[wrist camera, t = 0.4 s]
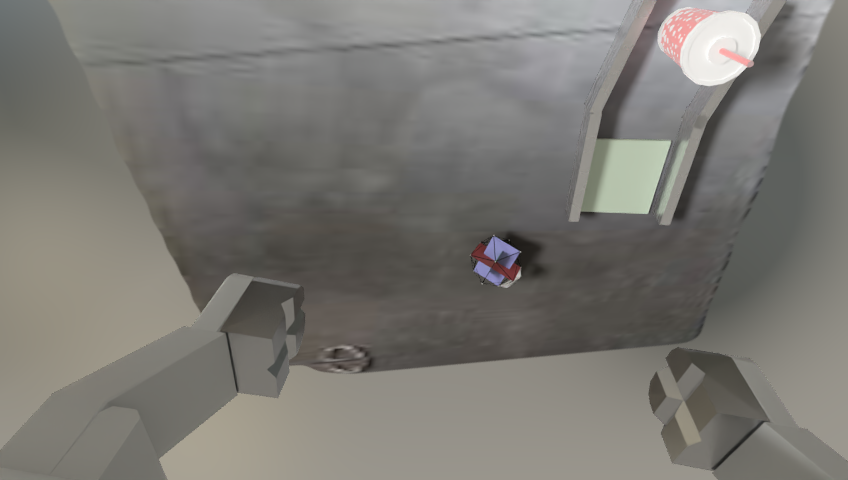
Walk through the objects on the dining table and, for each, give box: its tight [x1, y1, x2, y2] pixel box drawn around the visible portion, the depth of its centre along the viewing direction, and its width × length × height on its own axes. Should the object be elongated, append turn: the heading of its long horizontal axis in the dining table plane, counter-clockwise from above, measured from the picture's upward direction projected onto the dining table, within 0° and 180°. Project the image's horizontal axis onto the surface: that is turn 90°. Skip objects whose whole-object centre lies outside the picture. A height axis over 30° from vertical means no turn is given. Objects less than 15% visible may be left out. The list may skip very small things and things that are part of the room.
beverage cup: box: [658, 7, 761, 86], centre depth 40 cm, size 6×6×14 cm
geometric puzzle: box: [470, 235, 522, 288], centre depth 61 cm, size 7×7×8 cm
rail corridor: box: [565, 0, 787, 225], centre depth 50 cm, size 28×16×3 cm, turn 166°
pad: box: [581, 138, 671, 214], centre depth 55 cm, size 10×9×1 cm
